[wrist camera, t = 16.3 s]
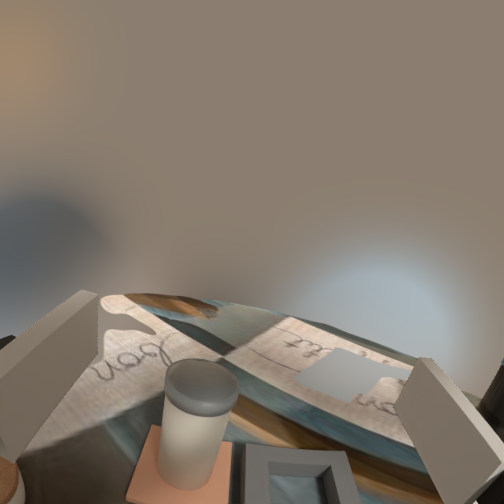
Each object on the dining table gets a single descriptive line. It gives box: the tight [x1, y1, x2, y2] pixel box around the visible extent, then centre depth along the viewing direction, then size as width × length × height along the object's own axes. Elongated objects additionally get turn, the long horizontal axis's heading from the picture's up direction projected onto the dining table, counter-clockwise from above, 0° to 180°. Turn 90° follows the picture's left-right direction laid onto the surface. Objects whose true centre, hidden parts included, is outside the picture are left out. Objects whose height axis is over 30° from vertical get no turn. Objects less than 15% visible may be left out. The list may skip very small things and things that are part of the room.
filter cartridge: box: [158, 359, 240, 490], centre depth 28 cm, size 7×7×15 cm
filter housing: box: [240, 443, 362, 504], centre depth 28 cm, size 14×14×3 cm
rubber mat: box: [126, 424, 232, 504], centre depth 29 cm, size 11×13×1 cm
